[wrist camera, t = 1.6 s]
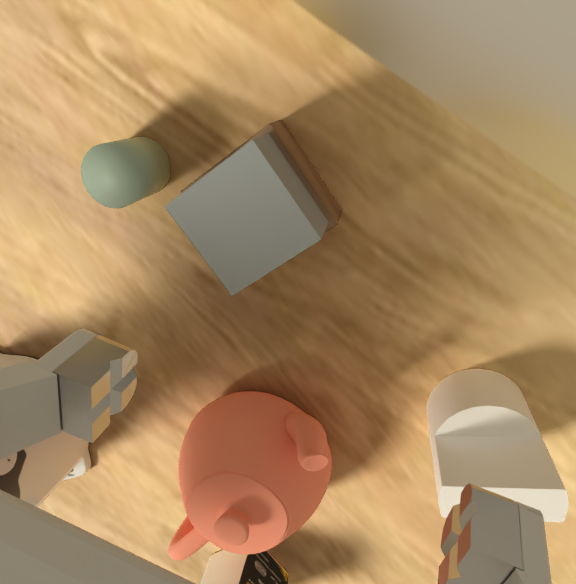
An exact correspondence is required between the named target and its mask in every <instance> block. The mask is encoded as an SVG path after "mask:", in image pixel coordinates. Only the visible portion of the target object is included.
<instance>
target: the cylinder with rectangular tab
mask: <svg viewBox="0 0 576 584" xmlns="http://www.w3.org/2000/svg"><path fill="white" fill-rule="evenodd" d="M426 410H427V418H428V426H429V434H430V441H431V449H432V457H433V464H434V472H435V480H436V487H437V495H438V503H439V508H440V513H441V515H442V517H444V518H447V516H448V514H449V512H450V511H451V509H452V507H453V506H454V505H457V504H460V497H461V492H462V491H463V489H464V487H465V486H466V485H467V484H469V483H470V484H473V485H476V486H478V487H481V488H483V489H486V490H488V491H491V492H494V493H496V494H499V495H501V496H504V497H506V498H509V499H512V500H514V501H515V502H516V501H517V502H519V503H522V504H524V505H527V506H530V507H532V508H535V509H537V510H540V511H541V513H542V514H543V517H544V522H563V521H564V520H565V517H566V514H567V510H568V495H567V492H566V489H565V487H564V485H563V483H562V481H561V478H560V476H559V474H558V472H557V469H556V467H555V465H554V463H553V461H552V458H551V456H550V454H549V452H548V449H547V447H546V445H545V443H544V441H543V438H542V436H541V434H540V432H539V430H538V427H537V425H536V423H535V421H534V418H533V416H532V414H531V412H530V410H529V407H528V405H527V403H526V401H525V398H524V396H523V394H522V392H521V390H520V388H519V387H518V386H517V385H516V384H515V383H514V382H513V381H512V380H511V379H509V378H508V377H506V376H504V375H503V374H501V373H498V372H495V371H492V370H487V369H476V368H475V369H467V370H461V371H459V372H456V373H453V374H450V375H449V376H447V377H446V378H444V379H443V380H441V381H440V382H439V383H438V384H437V385H436V386H435V388H434V389H433V390H432V392H431V394H430V396H429V398H428V402H427V409H426Z"/></svg>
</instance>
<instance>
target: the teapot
mask: <svg viewBox="0 0 576 584" xmlns="http://www.w3.org/2000/svg"><path fill="white" fill-rule="evenodd" d="M331 471H332V455H331V451H330V448H329V445H328V443H327V437H326V433H325V430H324V428H323V427H322V425H321V424H320V423H319V422H318V421H317V420H316V419H315V418H313V417H312V416H310V415H308V414H306V413H304V412H303V411H302V410H301V409H299V408H298V407H296V406H295V405H293V404H292V403H290V402H289V401H287V400H285V399H283V398H281V397H278V396H275V395H273V394H269V393H264V392H256V391H244V392H236V393H232V394H228V395H226V396H223V397H221V398H218V399H217V400H215V401H213V402H211V403H210V404H208V405H207V406H206V407H204V408H203V409H202V410H201V411H200V412H199V413H198V414H197V415H196V416H195V418H194V419H193V421H192V422H191V424H190V426H189V428H188V430H187V432H186V434H185V437H184V441H183V444H182V447H181V452H180V458H179V484H180V490H181V494H182V499H183V503H184V507H185V510H186V513H187V515H188V516H187V517H186V518H185V520H184V521H183V523H182V524H181V526H180V527H179V529H178V530H177V532H176V534H175V535H174V537H173V539H172V541H171V543H170V546H169V554H170V556H171V558H173V559H174V560H184V559H186V558H188V557H189V556H191V555H192V554H194V553H195V552H196V551H197V550H199V549H200V548H201V547H202V546H204V545H205V544H206V543H207V542H208V541H210V542H211V543H212V544H214V545H216V546H217V547H219V548H221V549H223V550H226V551H228V552H232V553H236V554H256V553H260V552H264V551H266V550H269V549H271V548H273V547H274V546H276V545H278V544H280V543H281V542H283V541H284V540H285V539H287V538H288V537H289V536H291V535H292V534H293V533H294V532H296V531H297V530H298V529H299V528H300V527H301V526H302V525H303V524H304V523H305V522H306V521H307V520H308V519H309V518H310V517H311V515H312V514H313V513H314V511H315V510H316V509H317V507H318V506H319V504H320V502H321V500H322V498H323V496H324V494H325V492H326V489H327V487H328V484H329V480H330V477H331Z"/></svg>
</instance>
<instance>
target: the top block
mask: <svg viewBox="0 0 576 584" xmlns="http://www.w3.org/2000/svg"><path fill="white" fill-rule="evenodd" d="M164 207H165V208H166V210H167V211H168V212H169V214H170V215H171V216H172V218H173V219H174V220H175V222H176V223H177V224H178V225H179V227H180V228H181V229H182V231H183V232H184V233H185V235H186V236H187V237H188V239H189V240H190V241H191V243H192V244H193V245H194V247H195V248H196V249H197V251H198V252H199V253H200V255H201V256H202V257H203V259H204V260H205V261H206V263H207V264H208V265H209V267H210V268H211V269H212V271H213V272H214V273H215V275H216V276H217V277H218V279H219V280H220V281H221V282H222V284H223V285H224V286H225V288H226V289H227V290H228V292H229V293H230V294H231V296H233V295H235V294H236V293H238V292H239V291H241V290H243V289H244V288H246V287H247V286H249V285H251V284H252V283H254V282H255V281H257V280H258V279H260V278H262V277H263V276H265V275H266V274H268V273H269V272H271V271H273V270H274V269H276V268H277V267H279V266H280V265H282V264H284V263H285V262H287V261H288V260H290V259H291V258H293V257H295V256H296V255H298V254H299V253H301V252H303V251H304V250H306V249H307V248H309V247H310V246H312V245H314V244H315V243H317V242H318V241H320V240H321V239H322V237H323V234H324V232H325V229H326V227H327V225H328V220H327V219H326V217H325V216H324V214H323V213H322V211H321V210H320V208H319V207H318V205H317V204H316V202H315V201H314V200H313V198H312V197H311V195H310V194H309V192H308V191H307V189H306V188H305V186H304V185H303V183H302V182H301V180H300V179H299V177H298V176H297V174H296V173H295V171H294V170H293V169H292V167H291V166H290V164H289V163H288V161H287V160H286V158H285V157H284V155H283V154H282V152H281V151H280V149H279V148H278V146H277V145H276V143H275V142H274V140H273V139H272V138H271V136H270V135H269V133H267V134H265V135H262V136H260V137H257V138H255V139H252V140H251V141H250V142H248V143H247V144H246V145H244V146H243V147H242V148H240V149H239V150H238V151H236V152H235V153H234V154H233V155H231V156H230V157H229V158H227V159H226V160H225V161H223V162H222V163H221V164H219V165H218V166H217V167H215V168H214V169H213V170H212V171H210V172H209V173H208V174H206V175H205V176H204V177H202V178H201V179H200V180H198V181H197V182H196V183H194V184H193V185H192V186H191V187H189V188H188V189H187V190H185V191H184V192H183V193H181V194H180V195H179V196H177V197H176V198H175V199H174V200H172V201H171V202H170V203H168V204H167V205H166V206H164Z"/></svg>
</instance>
